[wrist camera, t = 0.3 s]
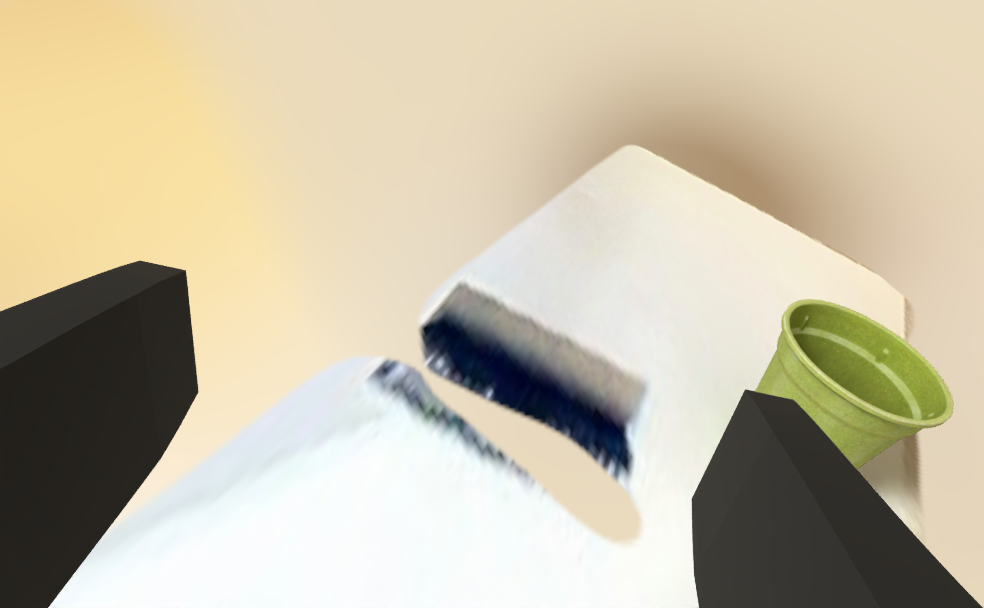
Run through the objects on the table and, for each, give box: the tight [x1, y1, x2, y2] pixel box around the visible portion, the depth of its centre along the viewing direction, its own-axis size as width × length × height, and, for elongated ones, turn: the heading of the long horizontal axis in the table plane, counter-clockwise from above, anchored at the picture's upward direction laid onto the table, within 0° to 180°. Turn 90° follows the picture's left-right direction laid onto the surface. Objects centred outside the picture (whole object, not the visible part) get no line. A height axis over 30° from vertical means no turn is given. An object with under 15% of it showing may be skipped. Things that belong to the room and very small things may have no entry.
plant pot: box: [755, 299, 954, 469], centre depth 39 cm, size 9×9×9 cm
